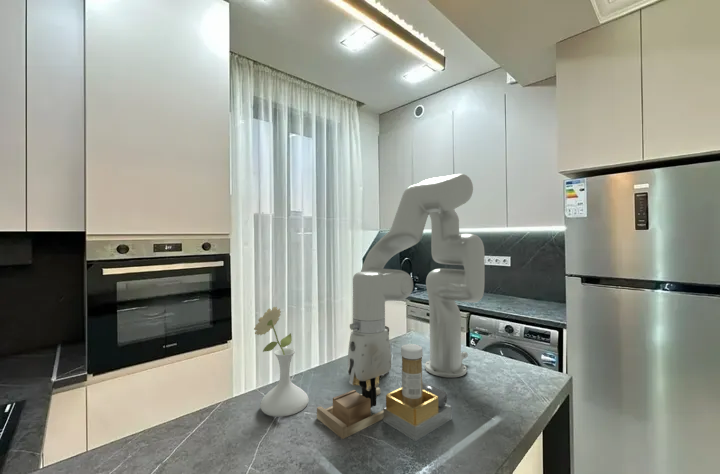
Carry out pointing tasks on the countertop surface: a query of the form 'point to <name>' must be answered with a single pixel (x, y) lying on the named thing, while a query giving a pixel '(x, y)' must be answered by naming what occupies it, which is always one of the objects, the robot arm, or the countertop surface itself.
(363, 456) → the countertop surface
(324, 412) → the tray
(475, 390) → the countertop surface
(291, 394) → the flower in vase
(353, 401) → the tan cardboard box
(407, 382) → the sprinkles bottle
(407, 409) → the gold open box
